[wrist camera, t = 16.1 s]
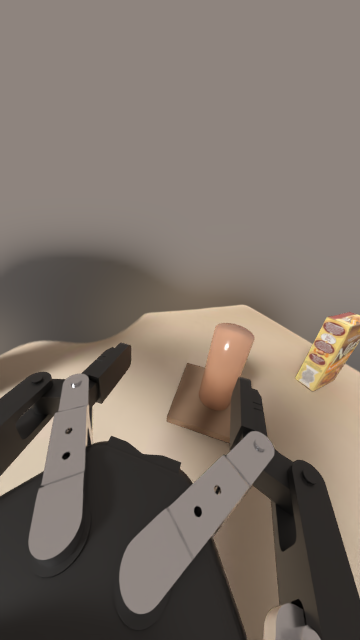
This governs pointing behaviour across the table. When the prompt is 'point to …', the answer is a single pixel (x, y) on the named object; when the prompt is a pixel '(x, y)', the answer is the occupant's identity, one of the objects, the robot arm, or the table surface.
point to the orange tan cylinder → (224, 364)
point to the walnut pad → (197, 408)
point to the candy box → (330, 350)
